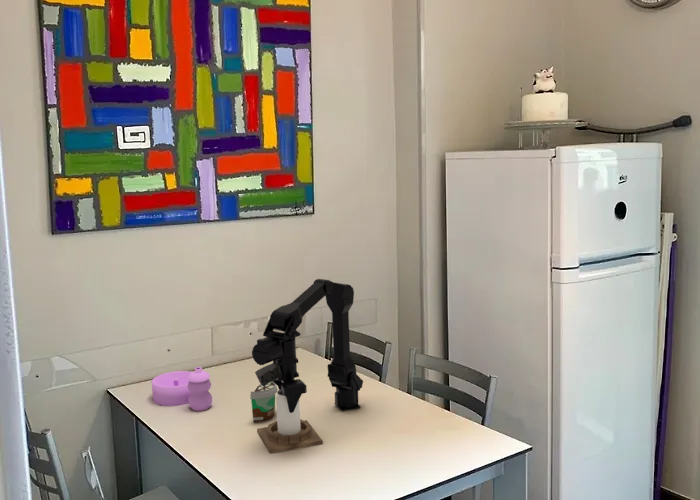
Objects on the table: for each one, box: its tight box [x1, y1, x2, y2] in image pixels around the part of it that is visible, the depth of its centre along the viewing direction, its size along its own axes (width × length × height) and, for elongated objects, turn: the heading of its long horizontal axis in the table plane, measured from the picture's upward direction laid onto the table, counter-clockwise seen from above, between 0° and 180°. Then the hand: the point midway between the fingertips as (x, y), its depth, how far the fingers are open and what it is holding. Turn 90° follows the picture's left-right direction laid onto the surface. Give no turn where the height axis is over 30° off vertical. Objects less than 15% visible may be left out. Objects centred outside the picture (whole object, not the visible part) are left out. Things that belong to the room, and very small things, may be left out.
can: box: [275, 389, 301, 436], centre depth 198 cm, size 6×6×12 cm
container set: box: [151, 366, 213, 412], centre depth 228 cm, size 25×15×13 cm, turn 46°
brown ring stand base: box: [256, 418, 324, 454], centre depth 199 cm, size 15×15×3 cm
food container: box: [249, 381, 278, 424], centre depth 214 cm, size 12×6×10 cm, turn 168°
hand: (288, 408), depth 198 cm, fingers closed on can, 6 cm apart
